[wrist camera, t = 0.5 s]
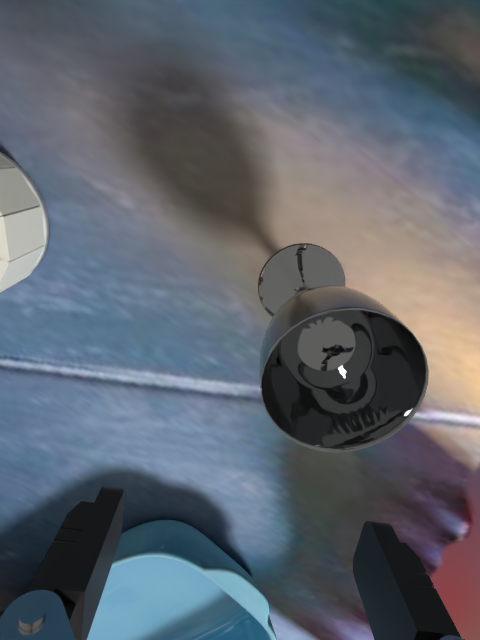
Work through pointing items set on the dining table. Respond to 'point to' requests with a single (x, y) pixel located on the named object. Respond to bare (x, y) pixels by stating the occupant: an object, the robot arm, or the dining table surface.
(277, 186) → the dining table surface
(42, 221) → the bowl
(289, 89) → the dining table surface
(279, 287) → the wine glass
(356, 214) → the dining table surface
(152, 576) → the casserole dish
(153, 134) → the dining table surface
